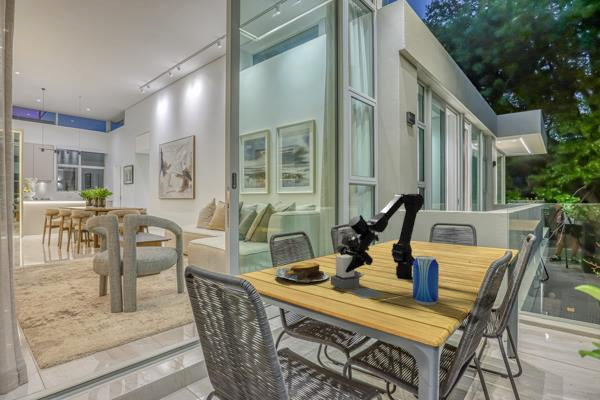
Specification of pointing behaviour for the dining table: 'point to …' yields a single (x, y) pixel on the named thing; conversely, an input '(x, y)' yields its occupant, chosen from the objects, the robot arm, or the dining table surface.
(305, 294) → the dining table surface
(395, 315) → the dining table surface
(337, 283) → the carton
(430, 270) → the beer can
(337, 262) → the box
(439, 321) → the dining table surface
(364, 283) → the dining table surface
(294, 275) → the food on plate
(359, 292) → the rubber mat
